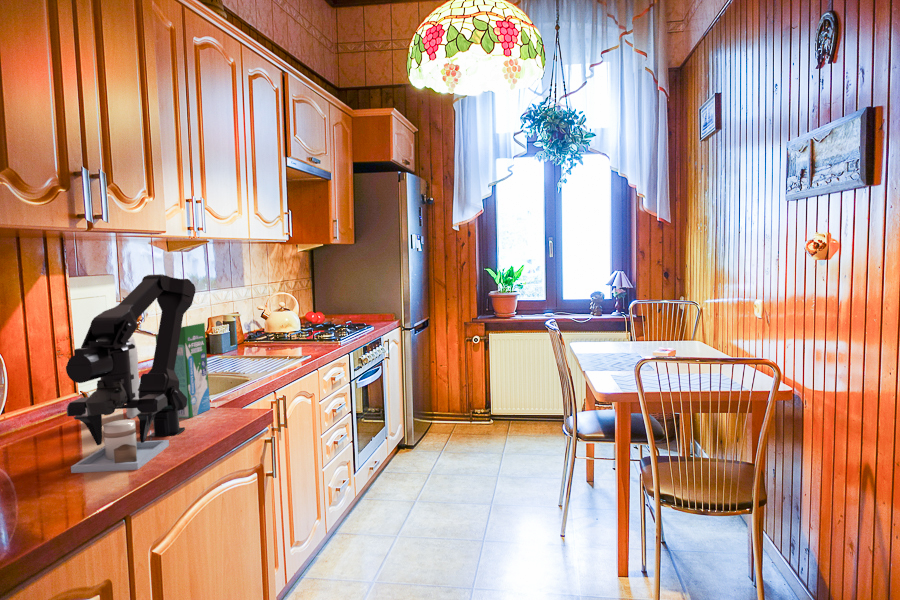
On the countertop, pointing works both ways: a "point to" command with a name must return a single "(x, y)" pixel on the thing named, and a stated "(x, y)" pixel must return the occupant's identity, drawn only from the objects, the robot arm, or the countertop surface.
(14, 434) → the countertop surface
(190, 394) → the milk carton
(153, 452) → the tray
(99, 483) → the countertop surface
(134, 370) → the tall pale column
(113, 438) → the cream lidded jar
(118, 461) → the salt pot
